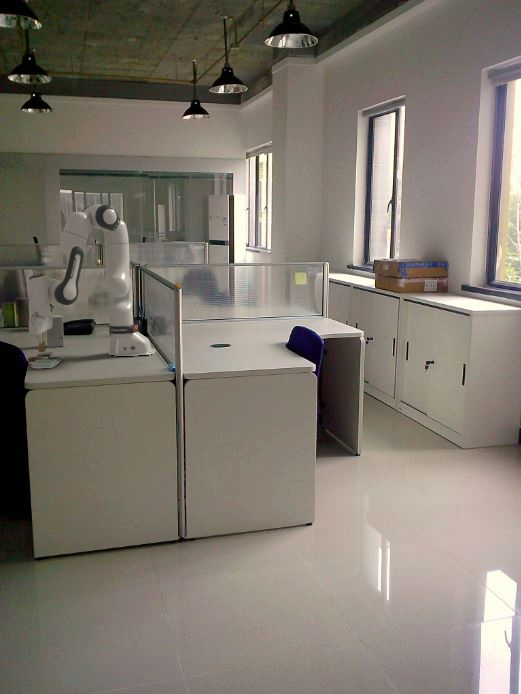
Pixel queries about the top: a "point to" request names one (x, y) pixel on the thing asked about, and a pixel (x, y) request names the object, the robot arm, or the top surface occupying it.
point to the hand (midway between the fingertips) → (42, 342)
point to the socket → (54, 358)
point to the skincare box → (56, 333)
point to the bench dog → (35, 358)
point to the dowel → (42, 344)
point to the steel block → (45, 354)
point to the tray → (44, 363)
